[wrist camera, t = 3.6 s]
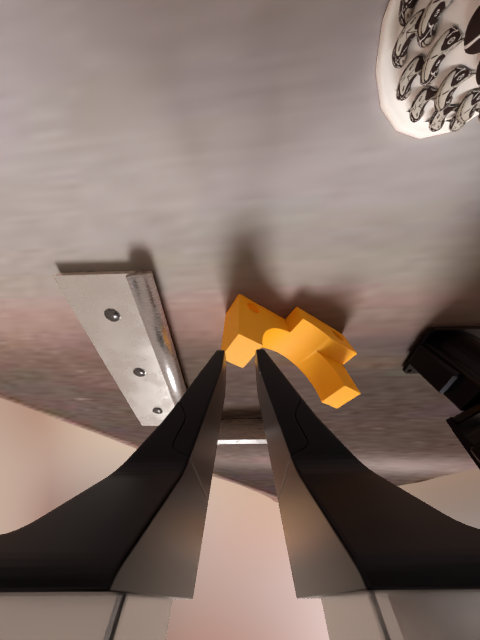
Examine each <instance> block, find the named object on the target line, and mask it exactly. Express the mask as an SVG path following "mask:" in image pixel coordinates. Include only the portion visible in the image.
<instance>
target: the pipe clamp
mask: <svg viewBox="0 0 480 640" xmlns="http://www.w3.org/2000/svg"><path fill="white" fill-rule="evenodd" d="M260 348H268V349H271V350H274V351H276V352H278V353H280V354H282V355H283V356H285V357H286V358H288V359H289V360H290V361H291V362H293V363H294V364H295V365H296V366H297V367H298V368H299V369H300V370H301V371H302V372H303V373H304V374H305V376H306V377H307V378H308V379H309V381H310V382H311V383H312V385H313V386H314V388H315V390H316V391H317V393H318V395H319V397H320V399H321V402H323V403H325V404H328V405H330V406H332V407H335V408H339V407H340V406H342V405H344V404H345V403H347V402H348V401H350V400H351V399H353V398H354V397H356V396H358V395H359V394H361V393H360V392H359V390H358V388H357V387H356V385H355V384H354V382H353V380H352V379H351V377H350V376H349V374H348V372H347V371H346V369H345V368H344V366H343V364H344V363H346V362H347V361H348V360H350V359H351V358H352V357H353V356H355V355H356V354H357V353H356V351H355V350H354V349H353V347H352V346H351V345H350V343H349V342H348V341H347V340H346V338H345V337H344V336H343V334H341V333H340V332H338V331H336V330H335V329H333V328H331V327H330V326H328V325H326V324H325V323H323V322H321V321H320V320H318V319H316V318H315V317H313V316H311V315H310V314H308V313H306V312H305V311H303V310H301V309H300V308H298V307H296V308H295V309H294V310H293V311H292V312H291V313H290V314H289V316H288V317H287V318H286V319H284V318H282V317H280V316H278V315H277V314H275V313H273V312H271V311H269V310H268V309H266V308H264V307H262V306H261V305H259V304H257V303H255V302H253V301H252V300H250V299H248V298H246V297H244V296H243V295H241V294H239V295H238V296H237V298H236V299H235V301H234V302H233V304H232V305H231V307H230V308H229V310H228V311H227V313H226V316H225V324H224V332H223V340H222V348H221V350H224V351H225V355H226V361H228V362H230V363H233V364H235V365H237V366H239V367H242V368H243V367H244V366H245V365H246V364H247V363H248V362H249V361H250V359H251V358H252V357H253V356H254V355H255V354H256V350H257V349H260Z"/></svg>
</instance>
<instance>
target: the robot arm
mask: <svg viewBox="0 0 480 640" xmlns="http://www.w3.org/2000/svg"><path fill="white" fill-rule="evenodd" d="M255 365H256V380H257V392H258V398H259V404H260V409H261V414H262V419H263V424H264V430H265V435H266V440H267V445H268V450H269V456H270V461H271V466H272V471H273V477H274V482H275V487H276V492H277V497H278V501H279V502H278V503H279V508H280V513H281V518H282V524H283V529H284V534H285V539H286V544H287V549H288V554H289V560H290V565H291V570H292V575H293V581H294V586H295V591H296V596H297V598H321V600H322V604H323V609H324V614H325V619H326V624H327V629H328V634H329V638H330V640H480V529H477V528H474V527H471V526H468V525H465V524H463V523H461V522H458V521H456V520H454V519H452V518H451V517H449V516H447V515H445V514H443V513H441V512H440V511H438V510H436V509H435V508H433V507H431V506H429V505H428V504H426V503H425V502H423V501H421V500H420V499H418V498H416V497H414V496H413V495H411V494H409V493H408V492H406V491H404V490H402V489H401V488H399V487H398V486H396V485H394V484H392V483H391V482H389V481H387V480H386V479H384V478H382V477H381V476H379V475H377V474H376V473H374V472H373V471H371V470H370V469H368V468H367V467H366V466H365V465H363V464H362V463H361V462H360V461H359V460H358V459H357V458H356V457H355V456H354V455H353V454H352V453H351V452H350V451H349V450H348V449H347V448H346V447H345V446H344V445H343V444H342V443H341V442H340V441H339V440H338V438H337V437H336V436H335V435H334V434H333V433H332V432H331V431H330V430H329V429H328V428H327V427H326V426H325V425H324V424H323V423H322V422H321V420H320V419H319V418H318V417H317V416H316V415H315V414H314V412H313V411H312V410H311V409H310V408H309V406H308V405H307V404H306V403H305V401H304V400H303V399H302V398H301V396H300V395H299V394H298V392H297V391H296V390H295V389H294V387H293V386H292V385H291V383H290V382H289V381H288V380H287V378H286V377H285V376H284V375H283V373H282V372H281V371H280V369H279V368H278V367H277V366H276V364H275V363H274V362H273V360H272V359H271V358H270V357H269V355H268V354H267V353H266V352H265V350H264V349H257V350H256V357H255ZM402 370H403V371H404V372H405V373H407V374H410V373H419V374H420V375H422V376H423V377H424V378H425V379H426V380H427V381H428V382H429V383H430V384H431V385H432V386H433V387H434V388H435V389H436V390H437V391H438V392H439V393H441V394H444V395H445V396H446V397H447V398H448V399H449V400H450V401H451V402H452V403H453V404H454V405H455V406H457V407H458V408H459V409H460V410H461V411H463V412H461V413H460V414H458V415H456V416H454V417H450V418H448V419H447V420H446V421H447V423H448V424H449V426H450V427H451V428H452V431H453V432H454V433H455V435H456V436H457V438H458V439H459V441H460V442H461V443H462V445H463V446H464V448H465V449H466V451H467V452H468V453H469V455H470V456H471V458H472V459H473V461H474V462H475V463H476V465H477V466H478V468H479V469H480V327H443V328H431V329H429V330H427V332H426V333H425V335H424V336H423V338H422V339H421V341H420V342H419V344H418V345H417V347H416V349H415V350H414V352H413V353H412V355H411V356H410V358H409V359H408V361H407V363H406V364H405V366H404V367H403V369H402ZM225 386H226V355H225V351H224V350H217V351H216V352H215V354H214V355H213V356H212V358H211V359H210V360H209V362H208V363H207V364H206V365H205V367H204V368H203V369H202V371H201V372H200V373H199V375H198V376H197V377H196V379H195V380H194V381H193V383H192V384H191V385H190V387H189V388H188V389H187V391H186V392H185V393H184V395H183V396H182V397H181V399H180V400H179V402H177V404H176V405H175V406H174V408H173V409H172V410H171V412H170V413H169V414H168V415H167V417H166V418H165V419H164V420H163V421H162V422H161V424H160V425H159V426H158V427H157V428H156V429H155V430H154V431H153V433H152V434H151V435H150V436H149V437H148V438H147V439H146V440H145V441H144V442H143V443H142V445H141V446H140V447H139V448H138V449H137V450H136V451H135V452H134V453H133V454H132V455H131V457H130V458H129V459H128V460H127V461H126V462H125V463H124V464H123V465H122V466H120V467H119V468H118V469H117V470H116V471H115V472H113V473H112V474H111V475H109V476H108V477H107V478H105V479H103V480H102V481H100V482H98V483H97V484H95V485H93V486H92V487H90V488H89V489H87V490H85V491H84V492H82V493H80V494H79V495H77V496H75V497H74V498H72V499H71V500H69V501H67V502H65V503H64V504H62V505H61V506H59V507H57V508H56V509H54V510H52V511H51V512H49V513H47V514H46V515H44V516H42V517H41V518H39V519H38V520H36V521H34V522H32V523H30V524H28V525H26V526H24V527H22V528H20V529H18V530H15V531H12V532H10V533H7V534H1V535H0V640H166V634H167V629H168V623H169V617H170V610H171V605H172V599H193V593H194V587H195V581H196V575H197V569H198V562H199V556H200V549H201V543H202V537H203V530H204V525H205V518H206V512H207V505H208V499H209V493H210V486H211V480H212V474H213V467H214V461H215V455H216V448H217V442H218V436H219V429H220V423H221V417H222V410H223V404H224V398H225Z"/></svg>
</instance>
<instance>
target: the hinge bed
mask: <svg viewBox="0 0 480 640" xmlns="http://www.w3.org/2000/svg"><path fill="white" fill-rule="evenodd" d="M53 278H54V280H55V281H56V283H57V285H58V286H59V288H60V290H61V291H62V293H63V295H64V296H65V298H66V300H67V301H68V303H69V305H70V306H71V308H72V310H73V311H74V313H75V315H76V316H77V318H78V320H79V321H80V323H81V325H82V326H83V328H84V330H85V331H86V333H87V335H88V336H89V338H90V340H91V341H92V343H93V345H94V346H95V348H96V350H97V351H98V353H99V355H100V356H101V358H102V360H103V361H104V363H105V365H106V366H107V368H108V370H109V371H110V373H111V375H112V376H113V378H114V380H115V381H116V383H117V385H118V386H119V388H120V390H121V391H122V393H123V395H124V396H125V398H126V400H127V401H128V403H129V405H130V406H131V408H132V410H133V411H134V413H135V415H136V416H137V418H138V420H139V421H140V423H141V425H142V426H159V425H160V424H161V422H162V421H163V420H164V419H165V418H166V417H167V415H168V414H169V413H170V412H171V410H172V409H173V408H174V406H175V405H176V404H177V402H179V400H180V399H181V397H182V396H183V395H184V393H185V392H186V391H187V390H186V386H185V383H184V379H183V376H182V372H181V369H180V366H179V362H178V359H177V355H176V352H175V349H174V345H173V342H172V338H171V335H170V332H169V328H168V325H167V321H166V318H165V315H164V311H163V308H162V304H161V301H160V298H159V294H158V291H157V287H156V284H155V281H154V277H153V274H152V271H149V270H141V271H139V270H136V271H101V272H67V273H58V274H55V275H53ZM258 443H267V440H266V435H265V430H264V424H263V419H221V423H220V429H219V436H218V442H217V444H258Z"/></svg>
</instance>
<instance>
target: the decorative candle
mask: <svg viewBox="0 0 480 640" xmlns="http://www.w3.org/2000/svg"><path fill="white" fill-rule="evenodd" d="M375 75H376V81H377V88H378V94H379V101H380V107H381V110H382V111H383V113H384V114H385V116H386V117H387V119H388V120H389V121H390V123H391V124H392V126H393V127H394V129H395V130H396V131H398V132H401V133H403V134H406V135H409V136H412V137H415V138H418V139H421V138H425V137H430V136H434V135H439V134H443V133H448V132H451V131H452V132H453V131H457V130H459V129H460V128H461V127H463V125H464V124H465V123H466V122H467V121H469V120H471V119H472V118H474V117H475V116H477V115H478V114H479V115H478V122H480V0H390V1H389V4H388V7H387V9H386V12H385V15H384V18H383V20H382V26H381V33H380V40H379V47H378V54H377V62H376V69H375Z"/></svg>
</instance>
